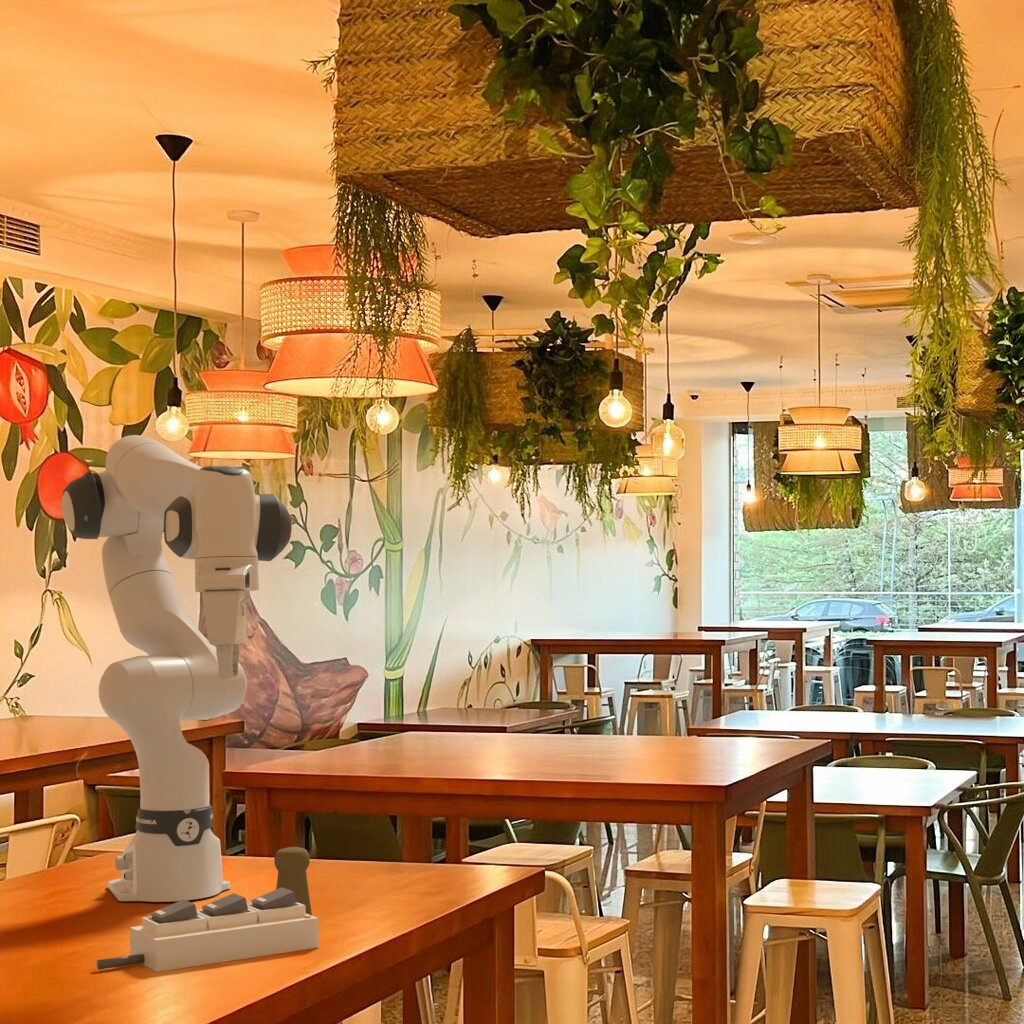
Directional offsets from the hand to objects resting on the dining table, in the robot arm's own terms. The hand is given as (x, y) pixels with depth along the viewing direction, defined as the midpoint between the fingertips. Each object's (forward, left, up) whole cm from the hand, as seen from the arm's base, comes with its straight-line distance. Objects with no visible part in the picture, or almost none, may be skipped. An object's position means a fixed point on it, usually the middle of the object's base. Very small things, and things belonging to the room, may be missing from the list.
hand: (228, 677), depth 217 cm
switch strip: (+5, -6, -37) cm, 38 cm away
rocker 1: (+5, -10, -31) cm, 33 cm away
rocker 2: (+5, -3, -31) cm, 31 cm away
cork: (-7, +13, -37) cm, 40 cm away
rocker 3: (+5, +4, -31) cm, 32 cm away
